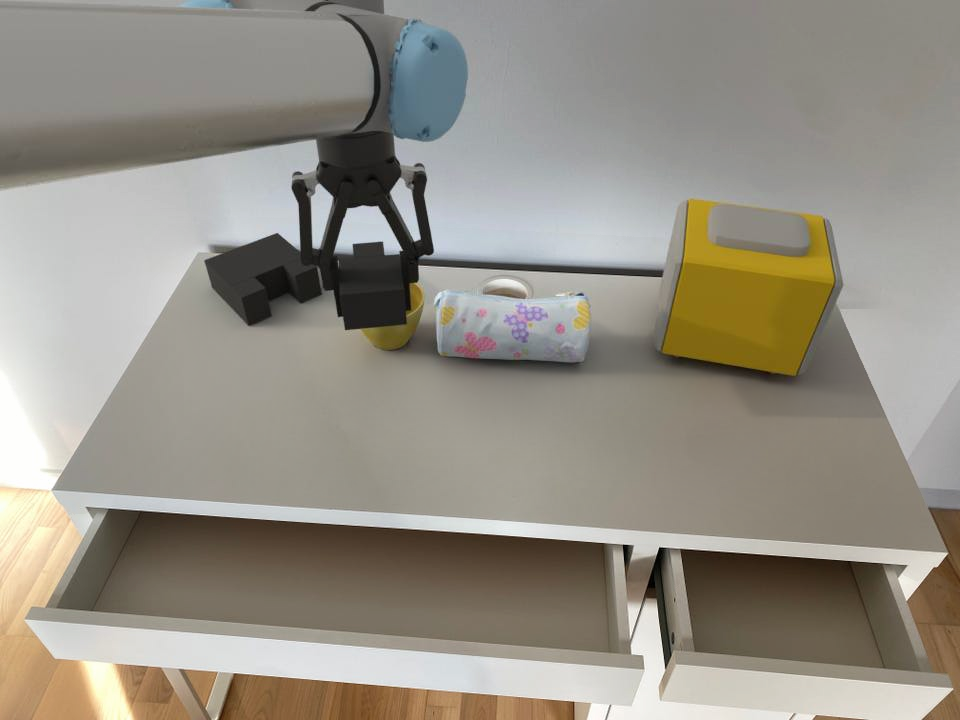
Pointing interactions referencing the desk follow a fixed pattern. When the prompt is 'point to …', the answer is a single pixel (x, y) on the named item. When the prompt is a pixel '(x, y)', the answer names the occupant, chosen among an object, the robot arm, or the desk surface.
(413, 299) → the flower pot
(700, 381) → the desk surface
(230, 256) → the notch pad
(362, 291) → the tab pad
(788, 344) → the alarm clock
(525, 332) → the pencil case
